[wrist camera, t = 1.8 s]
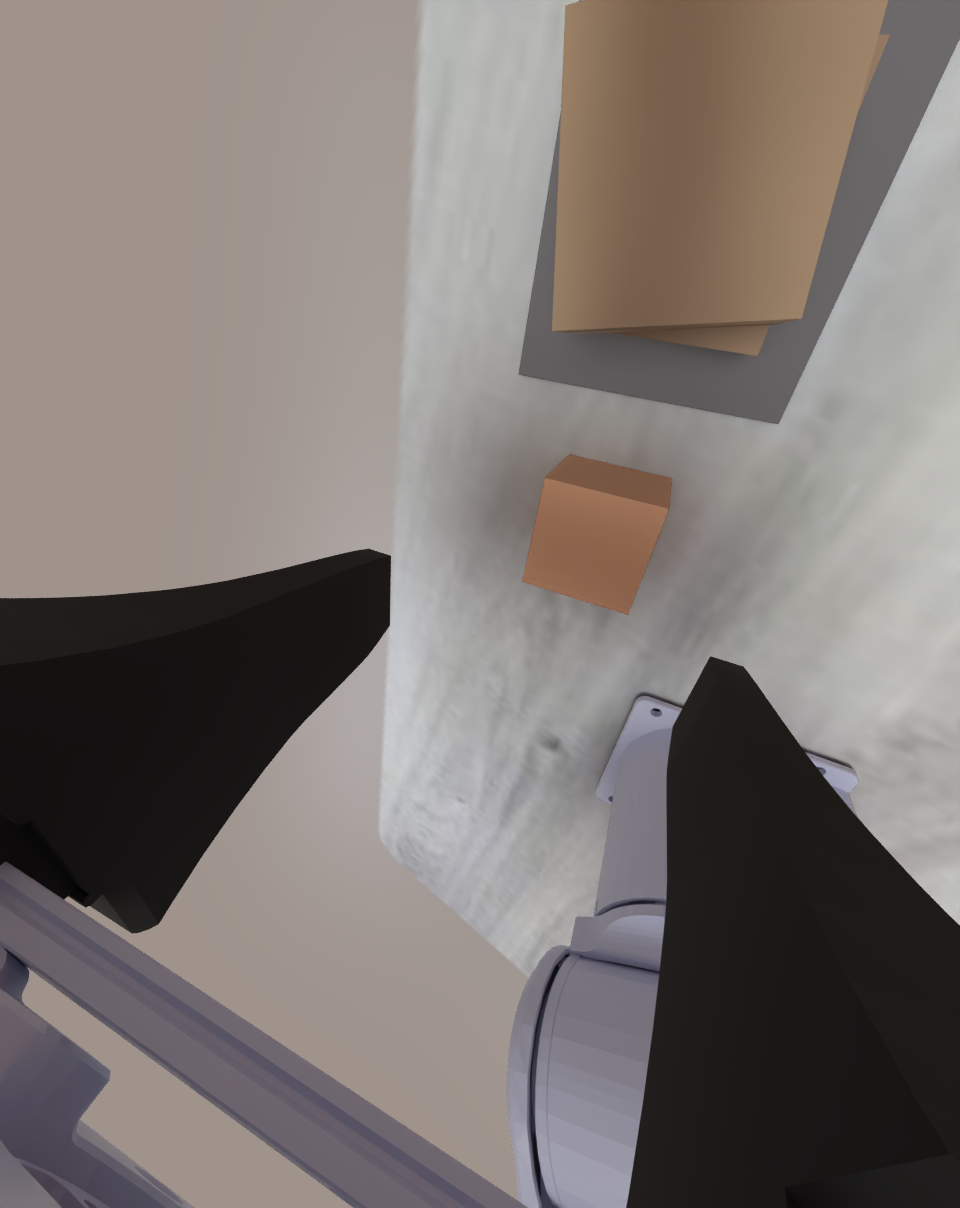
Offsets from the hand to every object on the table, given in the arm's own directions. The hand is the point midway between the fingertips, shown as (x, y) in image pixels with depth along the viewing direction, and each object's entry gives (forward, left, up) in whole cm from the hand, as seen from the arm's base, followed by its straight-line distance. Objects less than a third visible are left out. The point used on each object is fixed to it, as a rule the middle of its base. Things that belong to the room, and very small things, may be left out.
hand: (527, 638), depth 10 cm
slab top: (0, -9, -7) cm, 11 cm away
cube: (0, 0, -11) cm, 11 cm away
